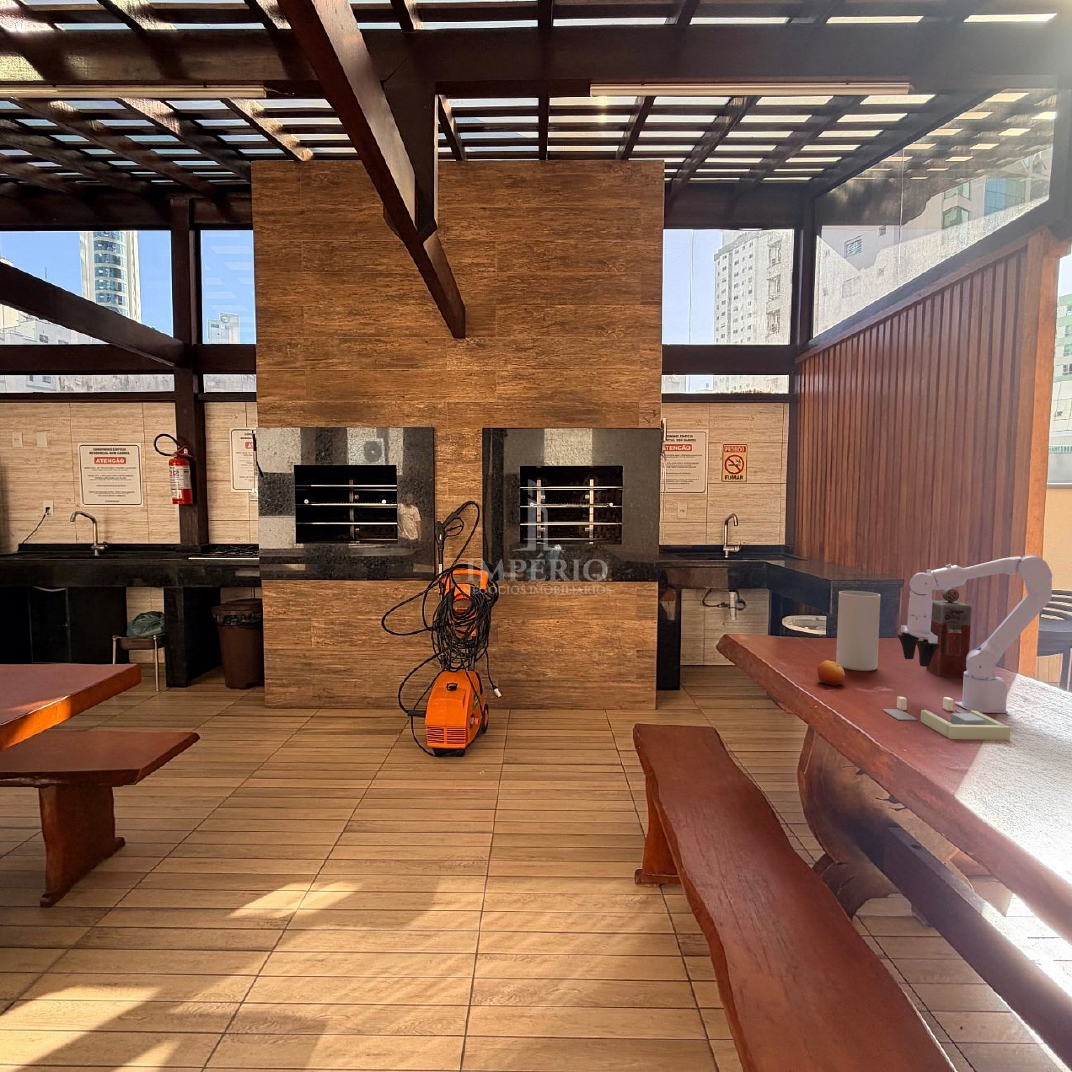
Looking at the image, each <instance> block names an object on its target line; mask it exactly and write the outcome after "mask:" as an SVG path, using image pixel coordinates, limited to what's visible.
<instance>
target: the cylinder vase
mask: <svg viewBox="0 0 1072 1072" xmlns="http://www.w3.org/2000/svg"><path fill="white" fill-rule="evenodd" d="M837 608H838V610H837V611H838V612H837V633H836V634H837V635H836V654H835V655H836V656H835V657H836V658H835V659H836V660H835V662H836V663H837V664H839V665H840V666H841V667H842V668H843V669H846V670H852V671H857V672H858V671H860V672H872V671H875V670H877V668H878V659H879V642H880V641H879V636H880V635H879V634H880V616H881V615H880V614H881V613H880V612H881V594H880V593H876V592H870V591H862V590H860V591H858V590H841V591H839V592H838V607H837Z"/></svg>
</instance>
